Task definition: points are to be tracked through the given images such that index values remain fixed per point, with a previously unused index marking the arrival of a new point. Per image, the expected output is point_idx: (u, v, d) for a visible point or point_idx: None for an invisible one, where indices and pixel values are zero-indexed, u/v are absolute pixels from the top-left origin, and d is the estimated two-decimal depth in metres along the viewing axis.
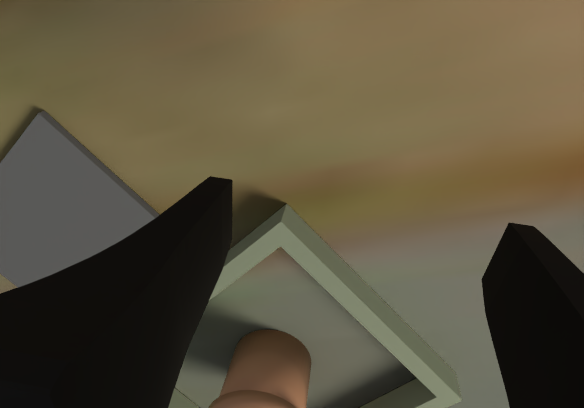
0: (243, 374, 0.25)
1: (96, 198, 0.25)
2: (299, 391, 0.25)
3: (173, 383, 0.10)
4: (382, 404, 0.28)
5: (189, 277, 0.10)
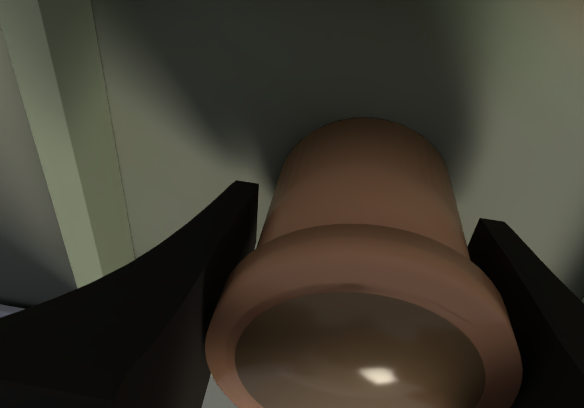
0: (420, 207, 0.09)
1: None
2: None
3: (204, 389, 0.10)
4: None
5: (221, 282, 0.10)
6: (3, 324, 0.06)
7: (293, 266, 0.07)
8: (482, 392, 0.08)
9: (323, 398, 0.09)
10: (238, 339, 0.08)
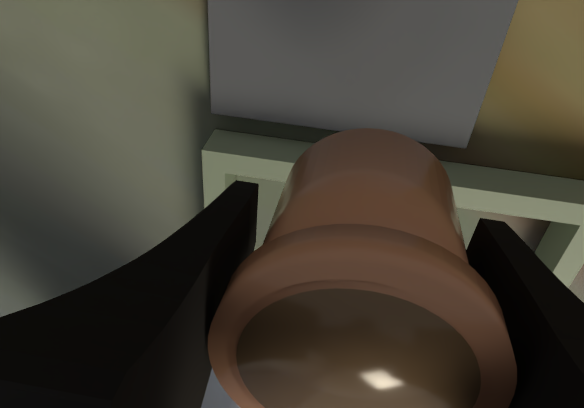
0: (418, 211, 0.09)
1: None
2: None
3: (204, 389, 0.10)
4: None
5: (221, 282, 0.10)
6: (3, 324, 0.06)
7: (290, 263, 0.07)
8: (479, 393, 0.08)
9: (322, 398, 0.09)
10: (239, 336, 0.09)
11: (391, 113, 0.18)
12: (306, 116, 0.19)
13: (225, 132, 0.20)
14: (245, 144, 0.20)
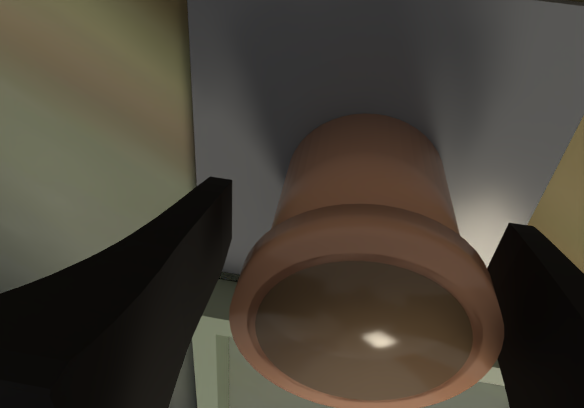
0: (414, 190, 0.10)
1: (492, 174, 0.14)
2: None
3: (173, 383, 0.10)
4: None
5: (189, 277, 0.10)
6: None
7: (304, 240, 0.08)
8: (471, 348, 0.09)
9: (333, 359, 0.10)
10: (258, 307, 0.10)
11: None
12: None
13: (217, 282, 0.19)
14: None
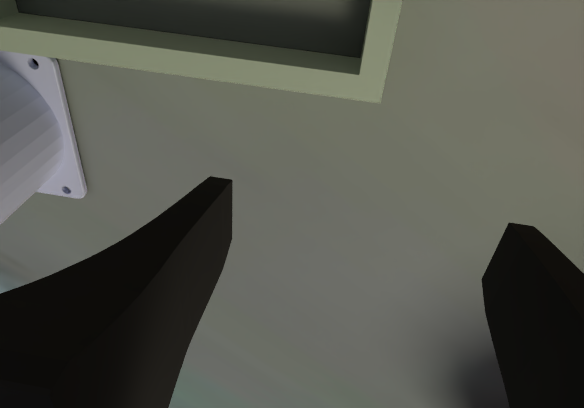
0: None
1: None
2: None
3: (173, 383, 0.10)
4: (265, 51, 0.18)
5: (189, 277, 0.10)
6: None
7: None
8: None
9: None
10: None
11: None
12: None
13: None
14: None
